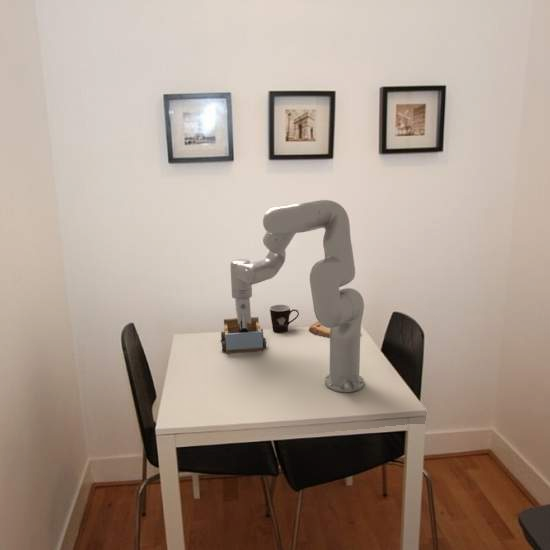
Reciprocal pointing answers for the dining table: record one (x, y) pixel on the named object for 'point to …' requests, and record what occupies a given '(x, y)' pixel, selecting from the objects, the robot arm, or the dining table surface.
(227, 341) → the panel
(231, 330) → the truck bed
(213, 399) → the dining table surface
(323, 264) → the robot arm
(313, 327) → the bread slice
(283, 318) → the coffee mug
